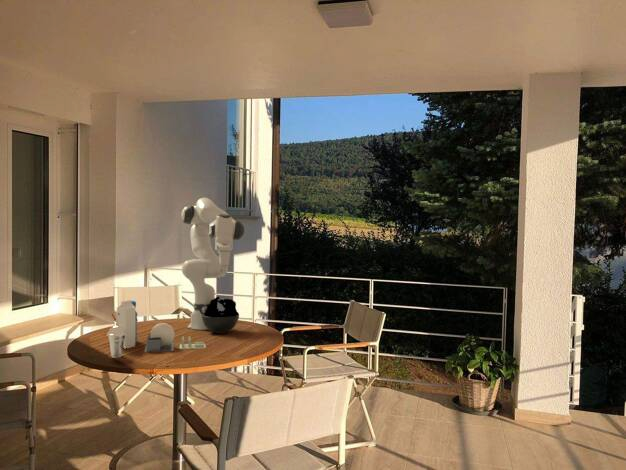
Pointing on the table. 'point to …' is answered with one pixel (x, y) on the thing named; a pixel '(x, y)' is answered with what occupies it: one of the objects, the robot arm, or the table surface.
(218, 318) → the bowl of black rocks
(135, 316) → the beverage bottle
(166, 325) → the plate
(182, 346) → the plate stand
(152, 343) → the dish rack
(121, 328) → the cup with straw
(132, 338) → the milk
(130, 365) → the table surface
